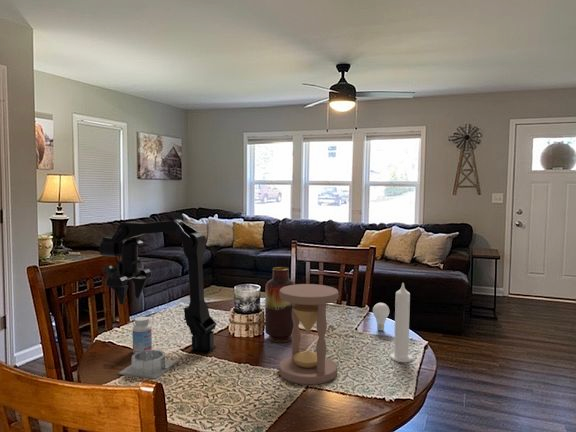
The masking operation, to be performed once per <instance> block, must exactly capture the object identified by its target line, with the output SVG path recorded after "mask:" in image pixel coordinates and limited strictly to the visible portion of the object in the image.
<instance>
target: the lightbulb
mask: <svg viewBox="0 0 576 432" xmlns="http://www.w3.org/2000/svg"><path fill="white" fill-rule="evenodd" d="M389 314H390V308H389V306H388V305H387V304H386V303H384V302H378V303H376V304H375V305H374V306H373V307H372V315H373V316H374V318H375V320H376V325H377V327H376V328H377V330H378V331H379V332H383V331H384V330H385V323H386V320H387V318H388V317H389Z"/></svg>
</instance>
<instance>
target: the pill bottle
mask: <svg viewBox="0 0 576 432" xmlns="http://www.w3.org/2000/svg"><path fill="white" fill-rule="evenodd" d="M152 330H153V329H152V325H151V324H150V318H149V316H138V317H135V318H134V325H133V326H132V353H133V354H135V353H137V352H140V351H144V350H153V349H152V347H153V346H152V345H153V343H152V342H153V341H152V340H153V339H152V337H153V336H152V335H153V334H152Z"/></svg>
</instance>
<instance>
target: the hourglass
mask: <svg viewBox="0 0 576 432" xmlns="http://www.w3.org/2000/svg"><path fill="white" fill-rule="evenodd" d="M339 292H340V291H339V290H338V289H337V288H335V287H334V286H330V285H329V286H328V285H324V284H315V283H299V284H298V283H297V284H296V283H295V285H289V286H285V287H283V288H281V289H280V299H282V300H284V301H286V302H290V303H293V307H292V320H293V324H294V326H293V330H292V333H291V339H292V340H291V344H292V349H291V350H292V351H291V353H292V354H291V356H287V357H285V358H283V359H281V361H280V362H279V364H278V373H279V375H280V376H281V378H283V379H284V380H286V381H288V382H290V383H295V384H299V385H309V386H310V385H320V384H324V383H327V382H330V381H332V380H334V379H335V378H336V377H337V374H338V366H337V365H338V364H337V363H336V362H335V361H334V360H332V359H331V358H328V357H327V343H326V340H325V335H326V331H327V329H328V324H327V317H326V315H327V314H326V313H327V304H331V303H334V302H336V301H337V300H338V299H339V296H340V295H339ZM300 323H301V325H302V326H303V328H304V329H305V331H304V333H305V335H310V334H312V328H313V327H314V325H315V324H316V327H315V328H316V331H317V336H318V339H317V342H316V346H315V351H312V350H304V351H301V350H300V346H301V340H302V337H301V336H302V333H301V330H300V327H299V324H300Z"/></svg>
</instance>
